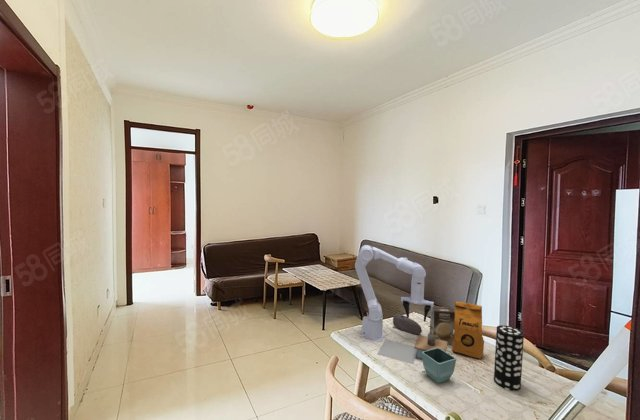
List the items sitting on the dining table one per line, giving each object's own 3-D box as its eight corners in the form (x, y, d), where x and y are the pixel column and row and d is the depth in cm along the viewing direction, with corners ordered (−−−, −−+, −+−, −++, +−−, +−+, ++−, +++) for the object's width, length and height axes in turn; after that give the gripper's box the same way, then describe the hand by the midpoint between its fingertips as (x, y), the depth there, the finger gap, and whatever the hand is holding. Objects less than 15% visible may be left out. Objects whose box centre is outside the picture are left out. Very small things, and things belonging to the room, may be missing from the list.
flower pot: (420, 374, 112) (421, 351, 111) (437, 369, 115) (438, 347, 115) (438, 388, 103) (439, 363, 103) (455, 382, 107) (457, 358, 107)
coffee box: (432, 345, 134) (434, 310, 133) (428, 338, 140) (430, 305, 139) (453, 346, 133) (455, 312, 132) (448, 339, 139) (450, 306, 138)
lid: (413, 348, 122) (414, 337, 121) (418, 336, 132) (419, 326, 132) (445, 356, 116) (445, 344, 116) (447, 343, 127) (448, 332, 126)
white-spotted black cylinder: (521, 394, 101) (524, 338, 100) (493, 385, 106) (496, 331, 105) (520, 381, 108) (523, 329, 107) (494, 374, 113) (496, 323, 112)
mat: (376, 355, 124) (376, 354, 124) (385, 339, 138) (385, 339, 138) (413, 364, 118) (413, 363, 118) (418, 347, 131) (418, 347, 131)
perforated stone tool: (423, 335, 144) (424, 321, 143) (418, 338, 140) (419, 324, 140) (397, 324, 155) (397, 311, 154) (391, 327, 151) (392, 314, 151)
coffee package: (482, 362, 121) (485, 310, 119) (450, 353, 127) (452, 303, 126) (484, 352, 129) (486, 303, 128) (453, 343, 136) (455, 297, 135)
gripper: (399, 290, 136) (398, 318, 137) (433, 295, 130) (431, 325, 130) (402, 286, 143) (401, 313, 143) (434, 291, 136) (433, 319, 137)
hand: (416, 319), depth 137 cm, fingers open, 7 cm apart
